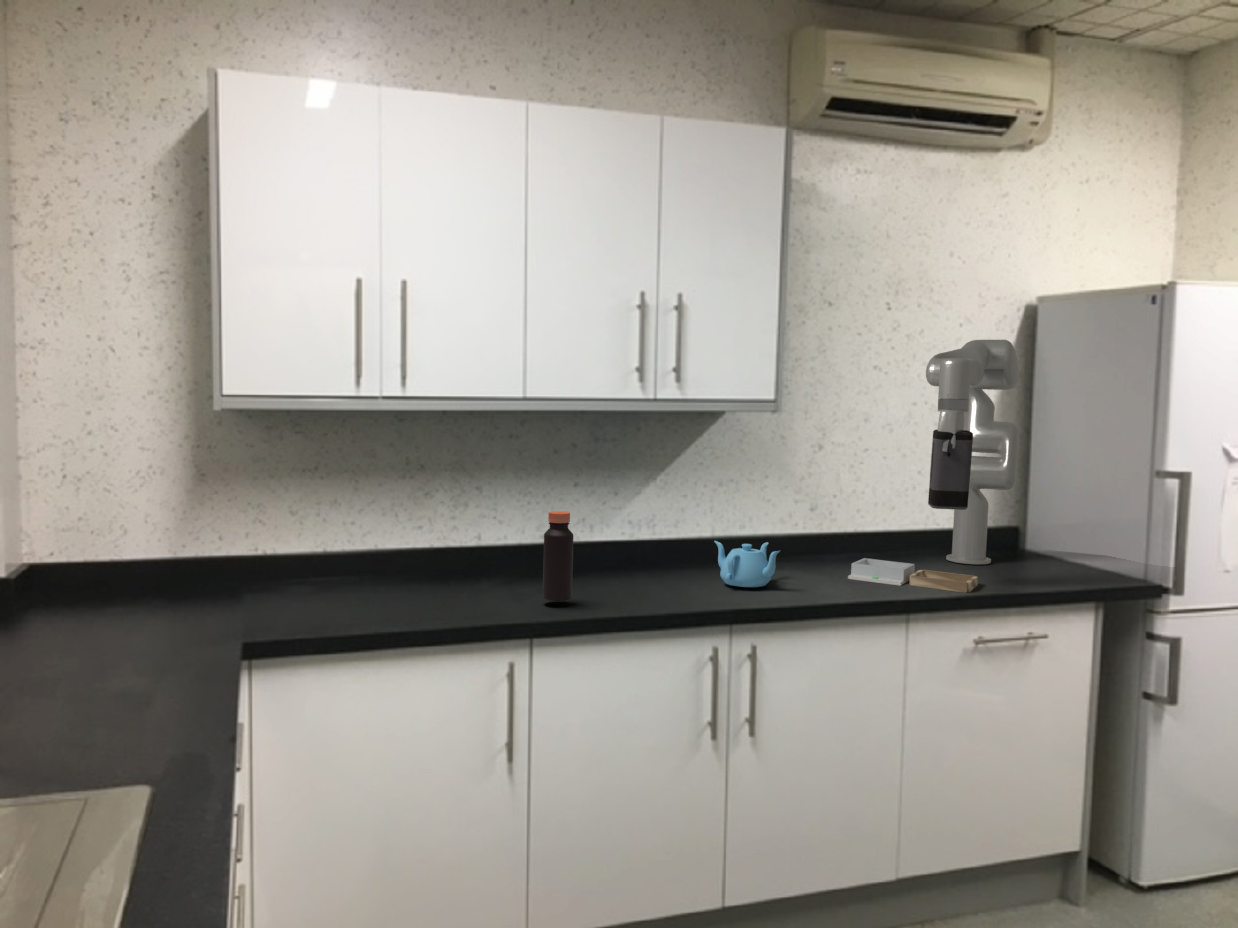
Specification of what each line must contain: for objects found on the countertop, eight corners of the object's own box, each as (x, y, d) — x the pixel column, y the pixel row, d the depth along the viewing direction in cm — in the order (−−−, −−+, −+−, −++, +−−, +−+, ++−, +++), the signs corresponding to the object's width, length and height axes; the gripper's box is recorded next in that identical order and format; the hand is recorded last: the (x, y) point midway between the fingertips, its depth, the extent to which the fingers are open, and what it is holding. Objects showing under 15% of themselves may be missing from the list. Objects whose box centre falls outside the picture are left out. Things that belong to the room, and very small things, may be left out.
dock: (866, 570, 261) (866, 556, 261) (916, 576, 254) (917, 562, 254) (847, 578, 248) (848, 564, 247) (900, 585, 240) (901, 571, 240)
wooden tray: (920, 578, 251) (920, 569, 251) (978, 585, 243) (978, 576, 243) (908, 585, 241) (908, 575, 241) (968, 592, 233) (969, 583, 233)
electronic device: (963, 505, 243) (968, 430, 240) (969, 510, 237) (975, 432, 234) (926, 504, 244) (931, 429, 241) (931, 508, 238) (937, 431, 235)
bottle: (536, 597, 214) (538, 511, 213) (561, 593, 219) (563, 510, 217) (553, 602, 209) (555, 515, 208) (577, 599, 213) (579, 513, 212)
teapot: (721, 589, 230) (722, 548, 229) (711, 577, 245) (713, 538, 244) (779, 590, 231) (781, 549, 230) (766, 578, 246) (768, 539, 245)
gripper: (945, 405, 248) (942, 473, 250) (930, 406, 234) (926, 478, 235) (975, 406, 244) (971, 475, 246) (961, 407, 230) (957, 480, 231)
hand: (949, 475), depth 241 cm, fingers closed on electronic device, 4 cm apart
